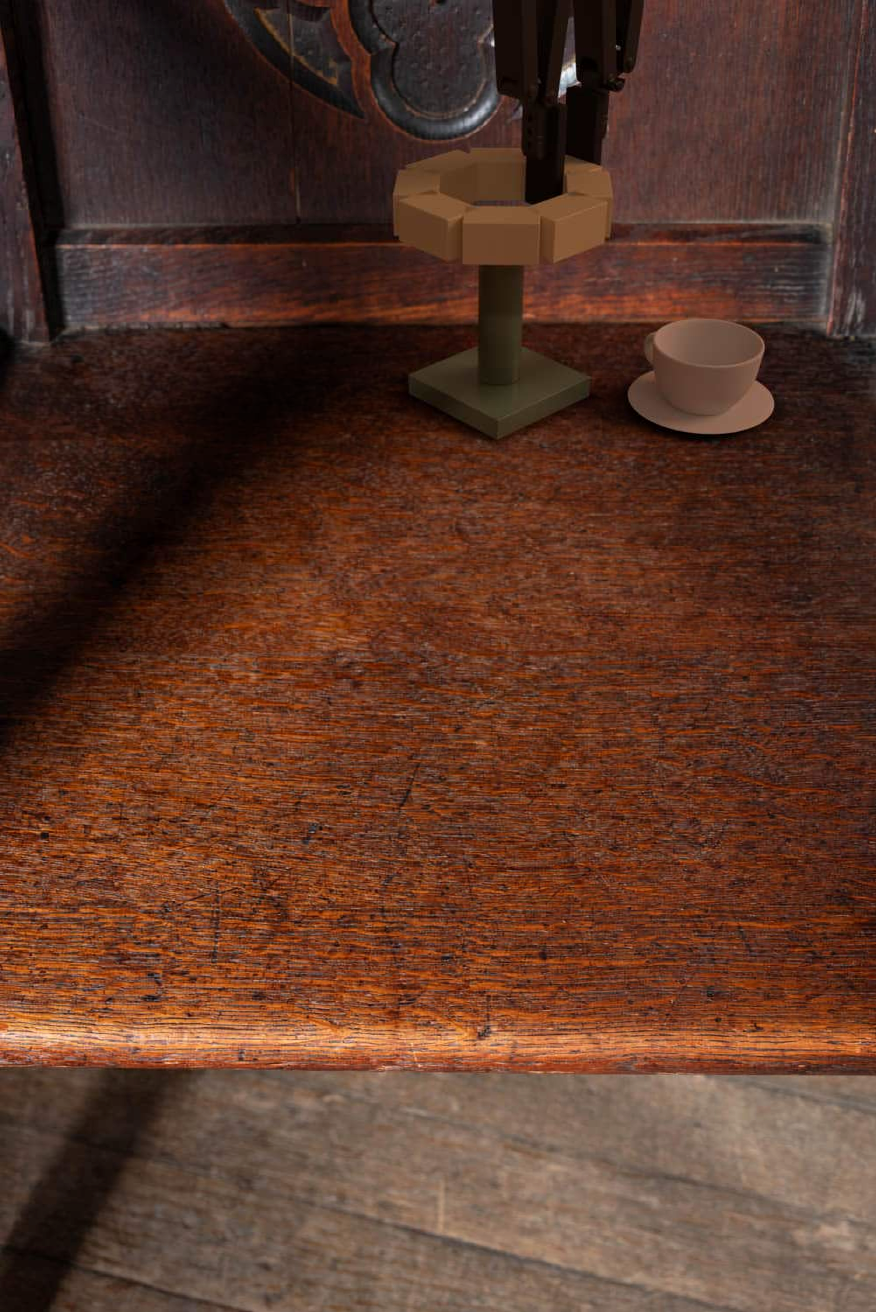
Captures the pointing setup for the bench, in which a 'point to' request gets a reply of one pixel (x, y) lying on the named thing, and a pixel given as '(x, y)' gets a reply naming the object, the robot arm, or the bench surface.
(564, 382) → the stand
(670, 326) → the teacup
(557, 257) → the ring of blocks
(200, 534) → the bench surface
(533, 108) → the robot arm
